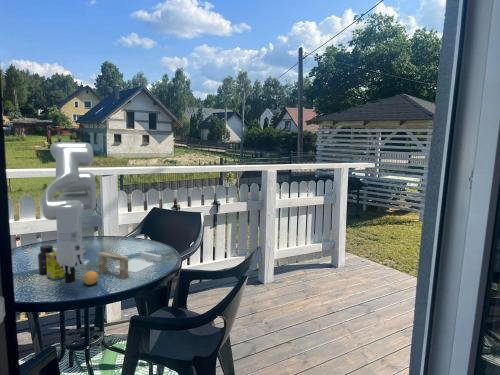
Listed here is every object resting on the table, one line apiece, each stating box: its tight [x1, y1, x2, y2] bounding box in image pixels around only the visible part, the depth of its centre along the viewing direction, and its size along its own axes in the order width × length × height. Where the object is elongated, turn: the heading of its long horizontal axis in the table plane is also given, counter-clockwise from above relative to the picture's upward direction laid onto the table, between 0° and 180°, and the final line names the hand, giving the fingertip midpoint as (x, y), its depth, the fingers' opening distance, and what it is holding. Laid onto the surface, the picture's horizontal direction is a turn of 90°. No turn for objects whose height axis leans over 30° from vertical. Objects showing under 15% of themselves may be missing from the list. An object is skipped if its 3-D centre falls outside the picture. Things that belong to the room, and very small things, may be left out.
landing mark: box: [113, 258, 155, 274], centre depth 176 cm, size 13×13×1 cm
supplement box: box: [46, 251, 65, 282], centre depth 159 cm, size 6×6×11 cm
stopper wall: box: [139, 251, 163, 263], centre depth 185 cm, size 2×12×2 cm, turn 63°
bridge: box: [97, 250, 129, 280], centre depth 163 cm, size 3×14×9 cm, turn 63°
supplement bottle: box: [37, 244, 54, 276], centre depth 163 cm, size 7×7×12 cm
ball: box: [83, 270, 99, 286], centre depth 153 cm, size 6×6×6 cm
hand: (70, 282), depth 144 cm, fingers closed
